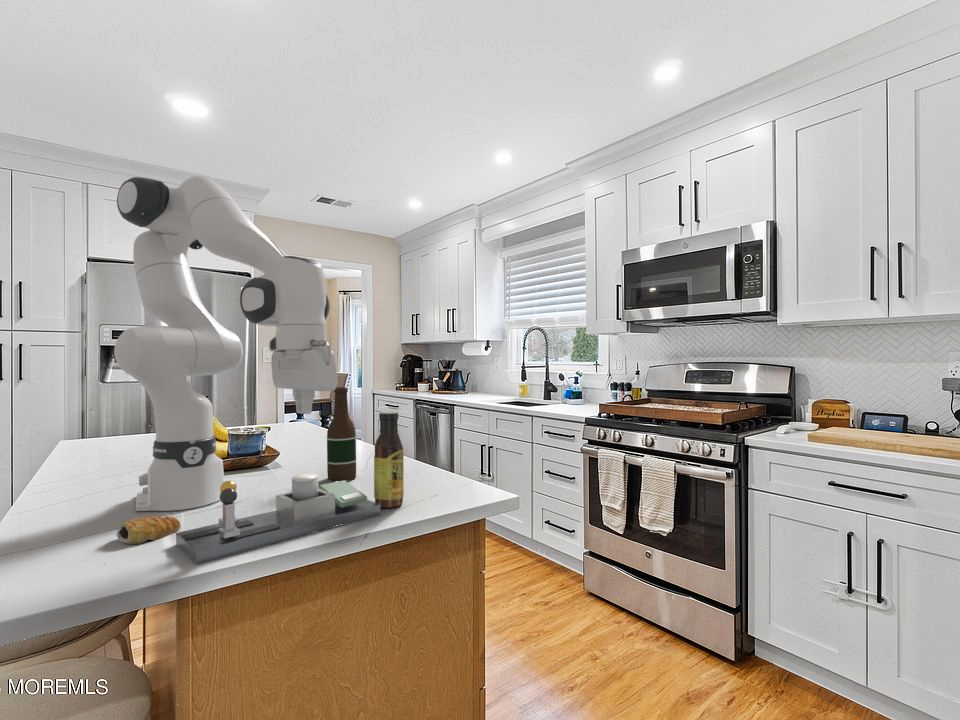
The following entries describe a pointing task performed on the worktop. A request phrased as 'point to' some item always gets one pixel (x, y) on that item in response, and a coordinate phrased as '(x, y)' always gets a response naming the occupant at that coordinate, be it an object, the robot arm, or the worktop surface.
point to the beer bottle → (341, 441)
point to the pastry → (146, 529)
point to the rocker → (344, 493)
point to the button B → (305, 486)
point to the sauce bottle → (388, 463)
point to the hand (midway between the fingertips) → (304, 413)
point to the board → (273, 526)
